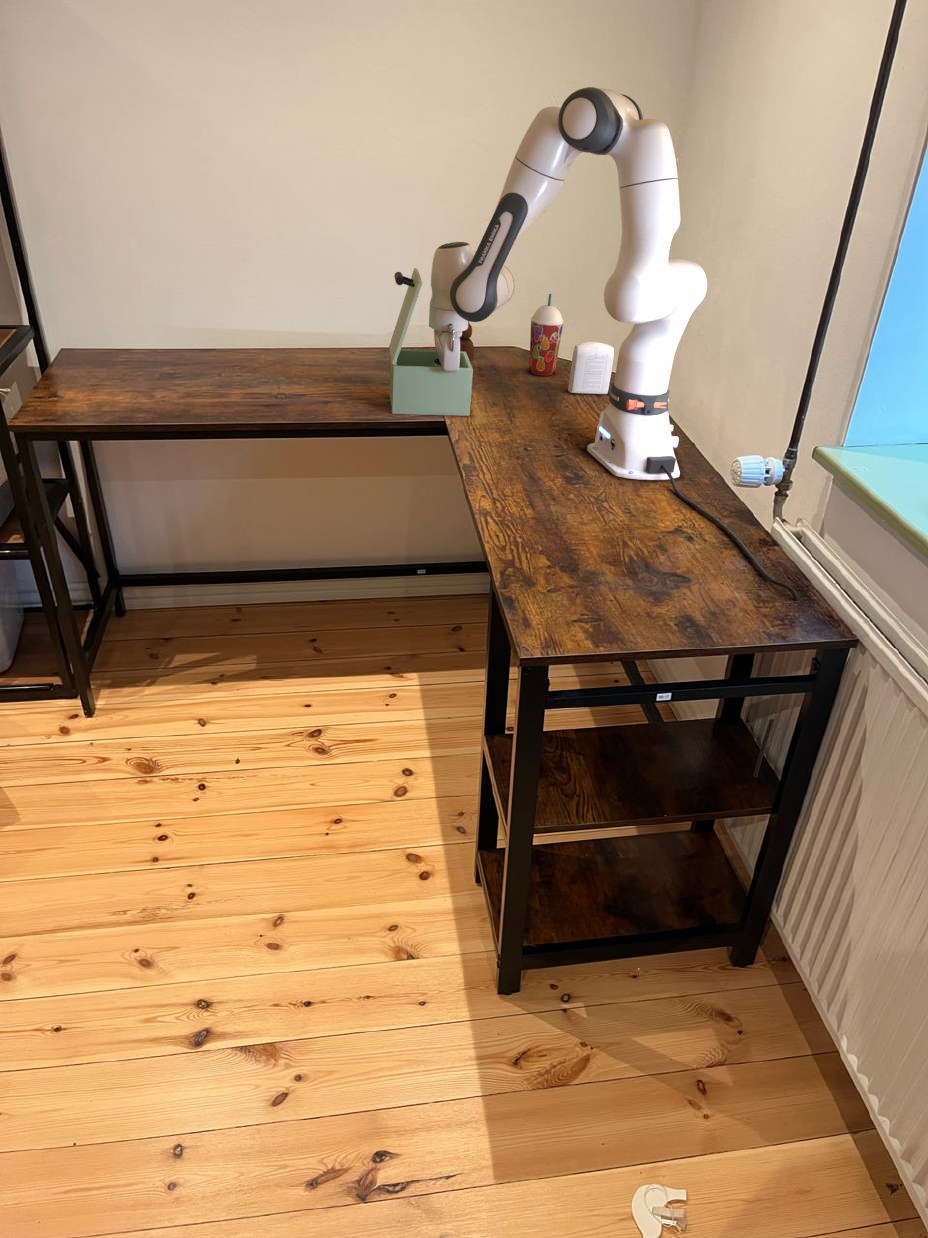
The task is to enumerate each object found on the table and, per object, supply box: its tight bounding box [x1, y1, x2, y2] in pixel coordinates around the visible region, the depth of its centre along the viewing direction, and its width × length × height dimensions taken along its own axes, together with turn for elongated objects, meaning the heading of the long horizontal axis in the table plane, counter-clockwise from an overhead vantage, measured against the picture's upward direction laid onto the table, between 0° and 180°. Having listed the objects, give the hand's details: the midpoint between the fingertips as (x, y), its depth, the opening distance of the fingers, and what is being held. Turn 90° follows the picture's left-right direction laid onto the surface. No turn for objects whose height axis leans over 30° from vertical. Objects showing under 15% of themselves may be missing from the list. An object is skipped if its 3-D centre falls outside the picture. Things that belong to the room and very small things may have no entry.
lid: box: [388, 267, 423, 365], centre depth 211 cm, size 18×14×5 cm
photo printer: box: [567, 341, 615, 395], centre depth 237 cm, size 10×4×12 cm, turn 98°
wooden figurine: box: [459, 321, 475, 364], centre depth 247 cm, size 7×6×15 cm
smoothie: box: [528, 293, 565, 377], centre depth 246 cm, size 8×8×20 cm
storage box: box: [388, 348, 474, 417], centre depth 220 cm, size 18×14×11 cm
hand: (445, 380), depth 221 cm, fingers closed on camera lens, 6 cm apart
